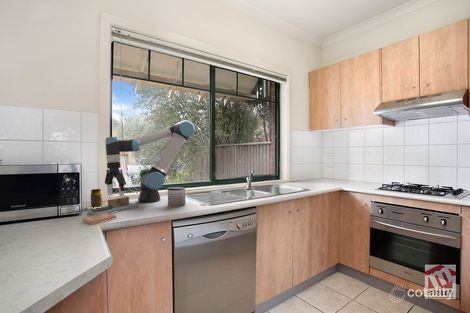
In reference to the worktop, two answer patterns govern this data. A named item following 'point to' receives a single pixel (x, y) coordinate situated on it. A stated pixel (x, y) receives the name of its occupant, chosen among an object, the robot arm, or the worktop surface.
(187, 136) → the robot arm
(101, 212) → the board
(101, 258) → the worktop surface
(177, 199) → the can
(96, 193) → the condiment
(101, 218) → the tile
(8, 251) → the worktop surface
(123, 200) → the turner
